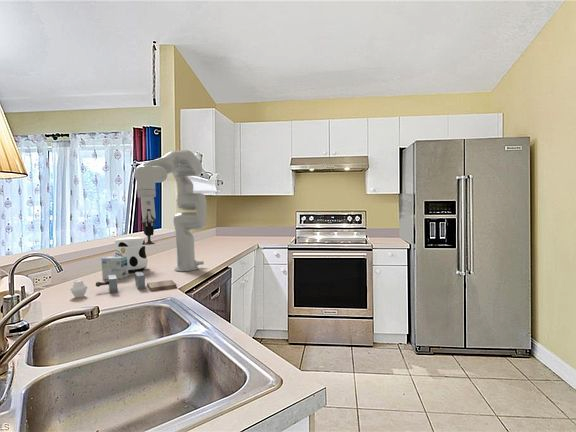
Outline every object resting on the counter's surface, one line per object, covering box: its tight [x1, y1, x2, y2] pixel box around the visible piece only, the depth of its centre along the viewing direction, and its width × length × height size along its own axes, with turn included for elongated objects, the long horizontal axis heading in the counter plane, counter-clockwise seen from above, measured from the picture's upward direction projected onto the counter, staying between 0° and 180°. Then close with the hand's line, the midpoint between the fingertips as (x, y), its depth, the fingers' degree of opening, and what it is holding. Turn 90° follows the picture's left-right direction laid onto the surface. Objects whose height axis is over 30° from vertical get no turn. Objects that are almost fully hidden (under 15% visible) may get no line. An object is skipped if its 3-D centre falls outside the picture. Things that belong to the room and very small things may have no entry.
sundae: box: [140, 218, 156, 246], centre depth 171 cm, size 7×7×15 cm
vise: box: [95, 271, 146, 294], centre depth 170 cm, size 20×10×6 cm, turn 117°
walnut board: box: [146, 279, 178, 292], centre depth 172 cm, size 11×11×2 cm
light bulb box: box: [101, 255, 129, 280], centre depth 196 cm, size 11×7×11 cm, turn 84°
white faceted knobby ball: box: [69, 279, 88, 299], centre depth 159 cm, size 6×6×7 cm
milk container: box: [114, 236, 149, 273], centre depth 214 cm, size 17×17×18 cm
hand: (148, 234), depth 171 cm, fingers closed on sundae, 4 cm apart
